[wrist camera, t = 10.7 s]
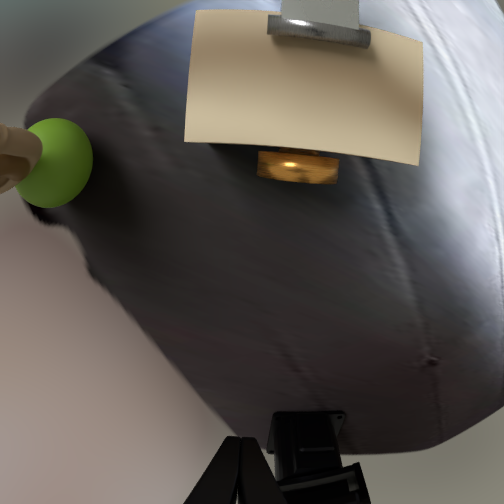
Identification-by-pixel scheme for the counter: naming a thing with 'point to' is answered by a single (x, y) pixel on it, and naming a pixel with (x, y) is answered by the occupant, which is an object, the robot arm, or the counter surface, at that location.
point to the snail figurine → (45, 161)
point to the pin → (298, 166)
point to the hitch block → (303, 89)
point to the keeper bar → (320, 22)
